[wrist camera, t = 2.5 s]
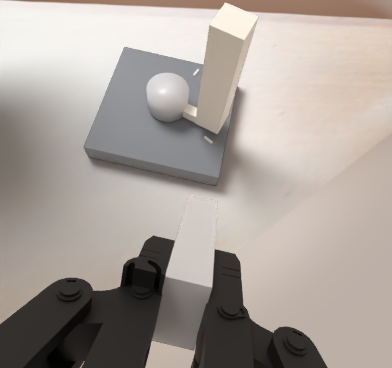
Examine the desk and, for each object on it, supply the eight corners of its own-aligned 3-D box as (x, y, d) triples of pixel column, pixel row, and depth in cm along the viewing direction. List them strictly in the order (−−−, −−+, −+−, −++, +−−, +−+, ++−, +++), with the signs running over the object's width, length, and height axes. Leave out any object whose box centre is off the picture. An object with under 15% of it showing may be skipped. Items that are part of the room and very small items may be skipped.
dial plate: (88, 156, 31) (83, 146, 29) (126, 60, 36) (124, 46, 34) (215, 185, 31) (218, 177, 29) (235, 85, 36) (239, 72, 34)
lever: (140, 111, 31) (125, -2, 20) (160, 83, 32) (156, -36, 21) (212, 146, 30) (239, 48, 19) (229, 115, 31) (263, 9, 20)
